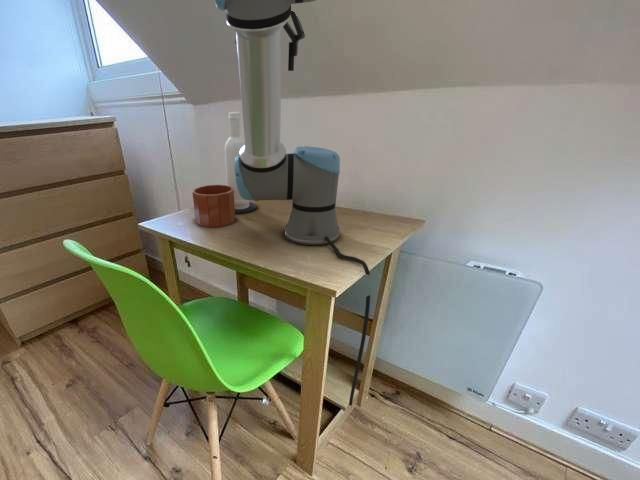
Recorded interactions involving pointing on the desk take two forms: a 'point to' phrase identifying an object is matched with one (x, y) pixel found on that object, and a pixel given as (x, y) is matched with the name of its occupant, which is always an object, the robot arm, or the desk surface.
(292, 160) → the robot arm
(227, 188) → the reddish brown pot
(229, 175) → the bottle
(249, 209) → the coaster
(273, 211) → the desk surface
